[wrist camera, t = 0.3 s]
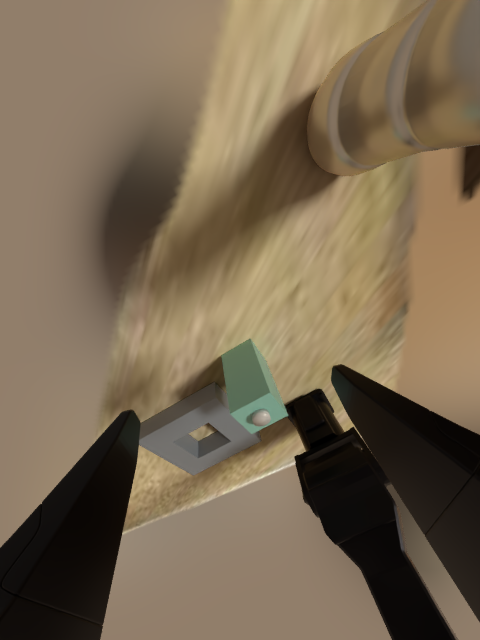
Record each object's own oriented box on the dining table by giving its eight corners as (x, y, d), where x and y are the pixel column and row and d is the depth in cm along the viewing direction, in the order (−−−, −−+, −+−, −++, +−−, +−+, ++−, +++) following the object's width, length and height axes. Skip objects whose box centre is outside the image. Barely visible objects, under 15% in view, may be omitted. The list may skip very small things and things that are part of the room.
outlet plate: (257, 425, 33) (261, 441, 31) (193, 458, 35) (193, 475, 33) (214, 381, 27) (215, 397, 25) (139, 424, 29) (134, 442, 27)
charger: (265, 359, 27) (290, 421, 20) (238, 374, 27) (253, 440, 20) (250, 338, 25) (272, 398, 18) (221, 355, 25) (230, 420, 18)
